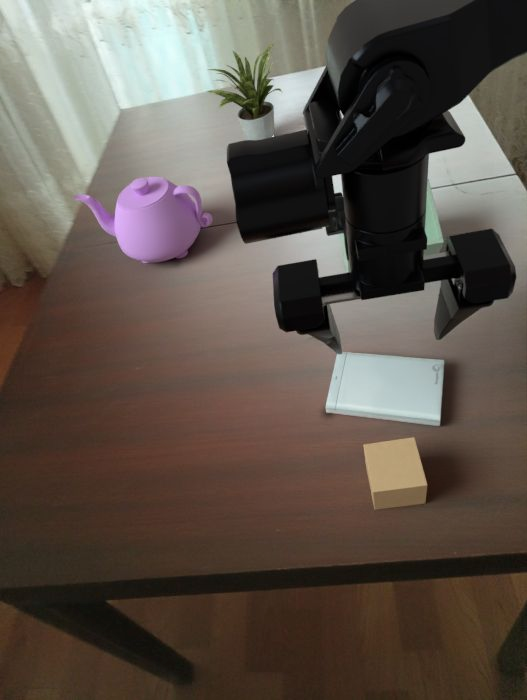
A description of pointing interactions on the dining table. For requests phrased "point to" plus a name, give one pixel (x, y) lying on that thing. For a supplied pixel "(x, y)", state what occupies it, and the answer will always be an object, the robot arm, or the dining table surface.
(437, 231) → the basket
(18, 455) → the dining table surface
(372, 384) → the hard drive
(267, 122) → the house plant
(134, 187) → the teapot
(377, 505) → the tan cardboard cube
